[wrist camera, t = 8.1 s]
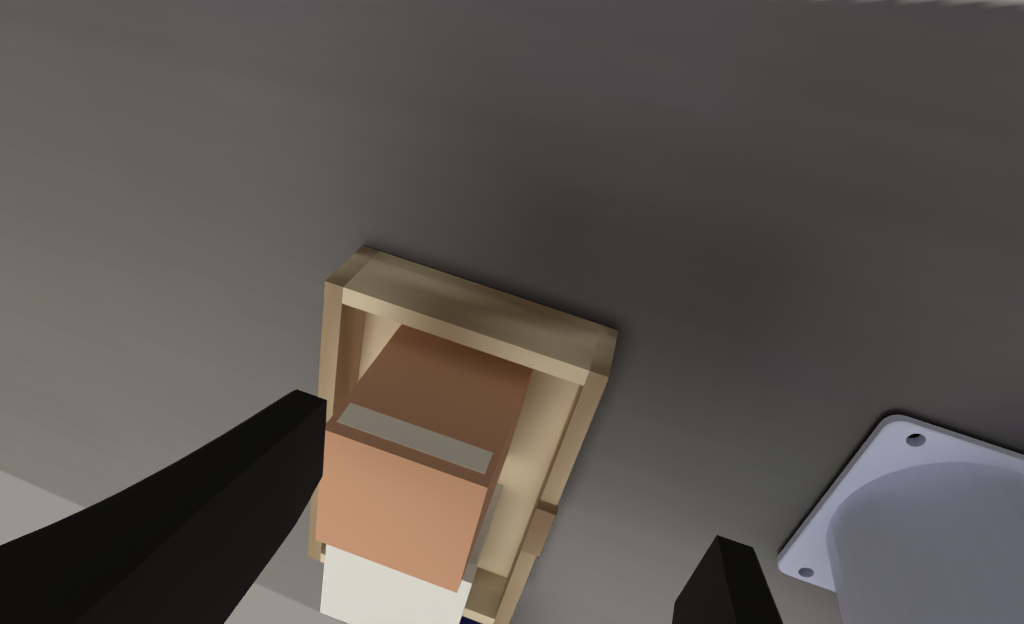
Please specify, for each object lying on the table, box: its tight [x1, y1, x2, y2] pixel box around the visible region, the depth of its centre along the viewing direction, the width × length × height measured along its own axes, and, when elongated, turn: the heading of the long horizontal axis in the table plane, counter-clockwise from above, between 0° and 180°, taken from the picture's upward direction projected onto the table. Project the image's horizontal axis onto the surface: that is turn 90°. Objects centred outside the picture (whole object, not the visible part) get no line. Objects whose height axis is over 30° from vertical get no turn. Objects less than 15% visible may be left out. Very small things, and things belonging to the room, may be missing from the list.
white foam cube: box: [320, 483, 503, 624], centre depth 24 cm, size 5×5×4 cm
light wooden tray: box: [307, 246, 618, 624], centre depth 24 cm, size 9×14×3 cm, turn 167°
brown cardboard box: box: [315, 324, 533, 593], centre depth 20 cm, size 5×5×6 cm
